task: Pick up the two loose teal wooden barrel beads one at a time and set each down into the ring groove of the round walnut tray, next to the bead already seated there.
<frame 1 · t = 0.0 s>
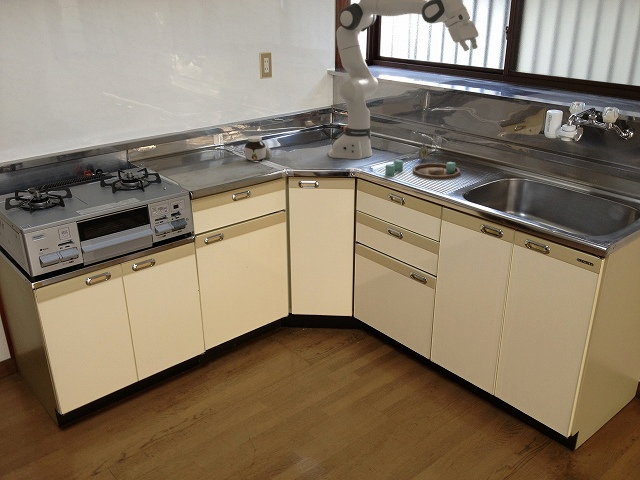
hand: (471, 49, 268), 54 cm above the counter, tool tilted 30°, fingers open, 8 cm apart
bead c: (450, 172, 285), point 1 cm above the counter, touching ring tray
spread jar: (259, 160, 312), on the counter
bead a: (398, 170, 292), on the counter
pocket watch: (427, 162, 304), on the counter
bead b: (389, 175, 285), on the counter
ring tray: (435, 174, 286), on the counter
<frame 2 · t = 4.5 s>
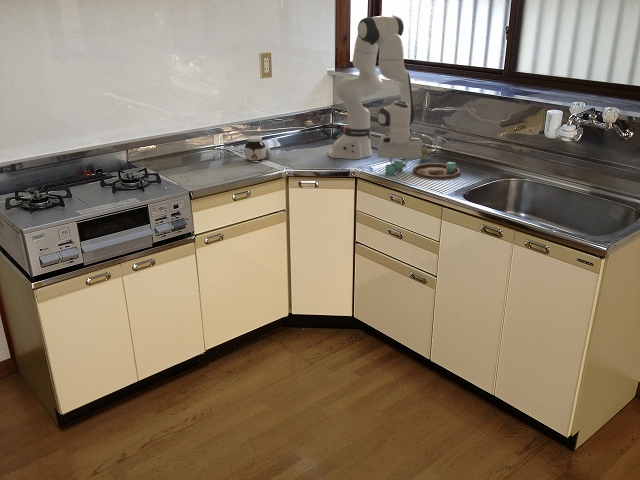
hand: (398, 167, 291), 2 cm above the counter, tool pointing down, fingers closed on bead a, 4 cm apart
bead a: (398, 170, 292), on the counter, touching gripper
everything else where it was.
when the fingers open (3 cm above the counter, at t = 8.9 s): bead a stays where it is, resting on ring tray.
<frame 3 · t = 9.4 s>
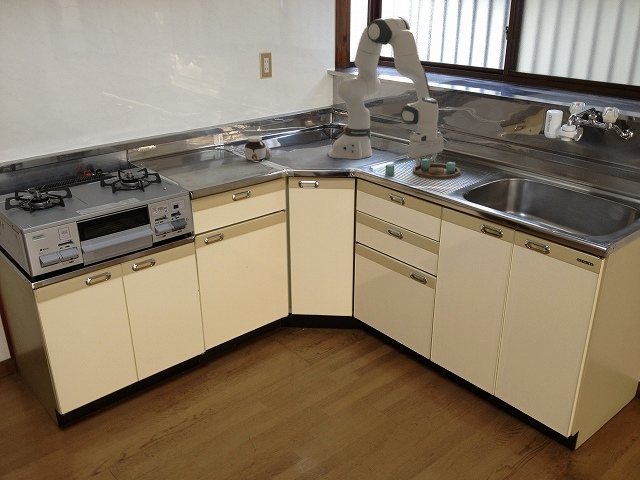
hand: (425, 163, 289), 3 cm above the counter, tool pointing down, fingers open, 8 cm apart
bead a: (425, 169, 290), point 1 cm above the counter, touching ring tray
everything else where it was.
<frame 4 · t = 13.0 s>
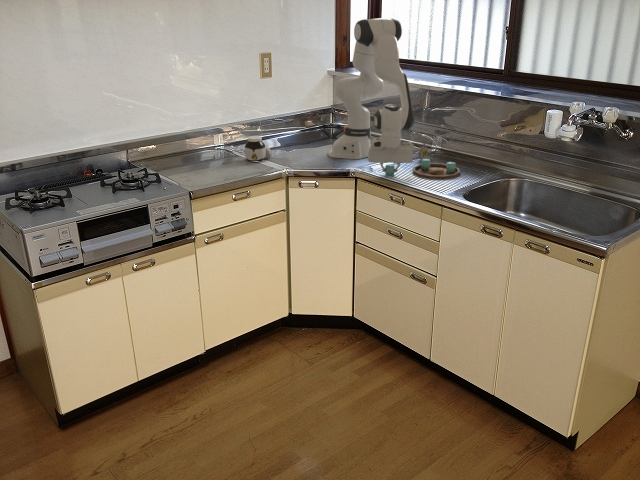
hand: (389, 171, 284), 2 cm above the counter, tool pointing down, fingers closed on bead b, 4 cm apart
bead b: (389, 175, 285), on the counter, touching gripper
everything else where it was.
when the fingers open (3 cm above the counter, at t = 17.7 s): bead b stays where it is, resting on ring tray.
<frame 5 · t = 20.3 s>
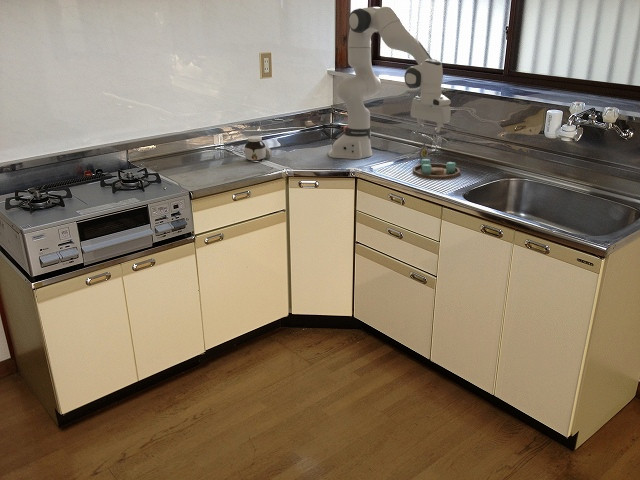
hand: (428, 130, 274), 21 cm above the counter, tool pointing down, fingers open, 8 cm apart
bead b: (426, 175, 282), point 1 cm above the counter, touching ring tray
everything else where it was.
at the end: bead a 0.0 cm from the target spot on the ring tray, point 0.8 cm above the ring tray's base; bead b 0.1 cm from the target spot on the ring tray, point 0.8 cm above the ring tray's base; bead b tilted 0° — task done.
